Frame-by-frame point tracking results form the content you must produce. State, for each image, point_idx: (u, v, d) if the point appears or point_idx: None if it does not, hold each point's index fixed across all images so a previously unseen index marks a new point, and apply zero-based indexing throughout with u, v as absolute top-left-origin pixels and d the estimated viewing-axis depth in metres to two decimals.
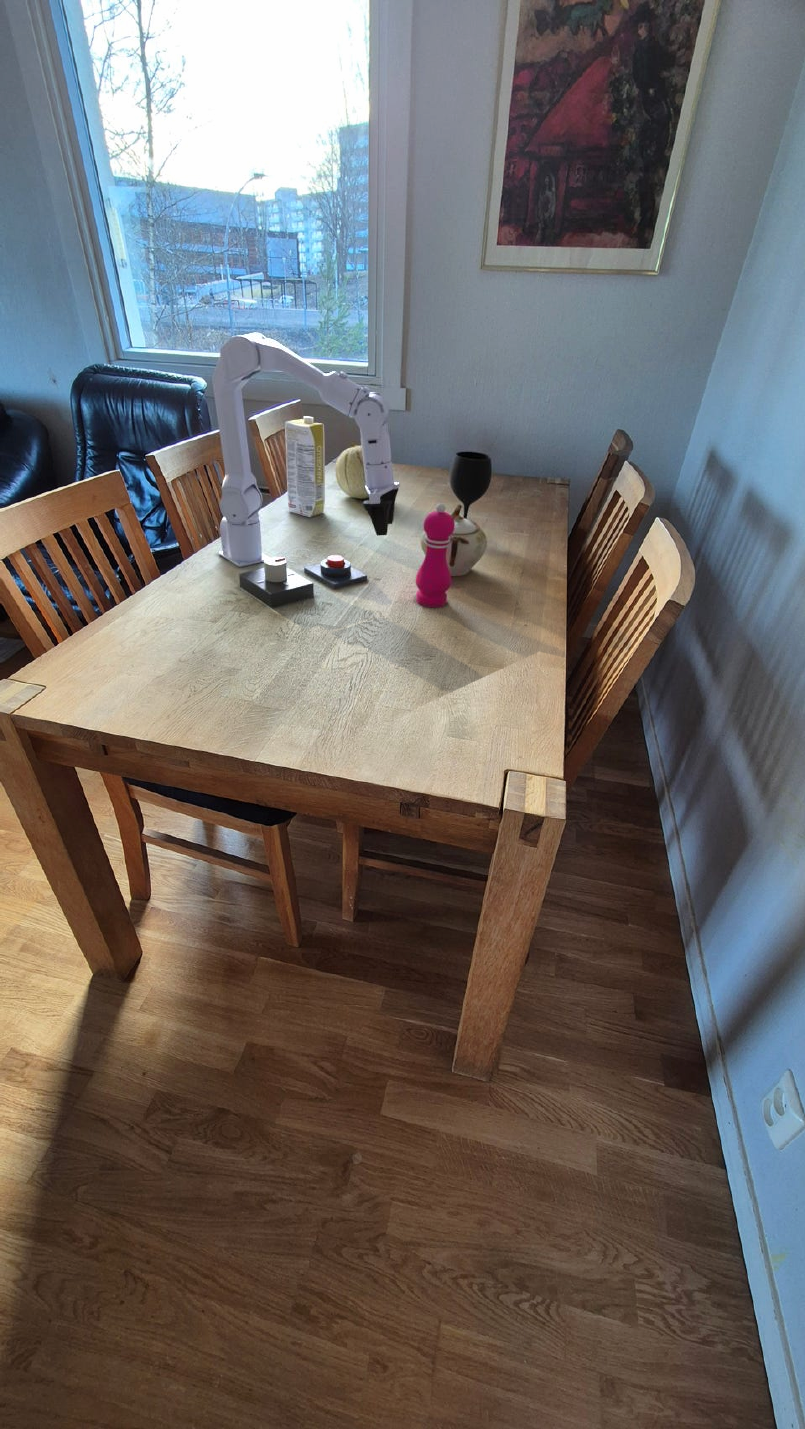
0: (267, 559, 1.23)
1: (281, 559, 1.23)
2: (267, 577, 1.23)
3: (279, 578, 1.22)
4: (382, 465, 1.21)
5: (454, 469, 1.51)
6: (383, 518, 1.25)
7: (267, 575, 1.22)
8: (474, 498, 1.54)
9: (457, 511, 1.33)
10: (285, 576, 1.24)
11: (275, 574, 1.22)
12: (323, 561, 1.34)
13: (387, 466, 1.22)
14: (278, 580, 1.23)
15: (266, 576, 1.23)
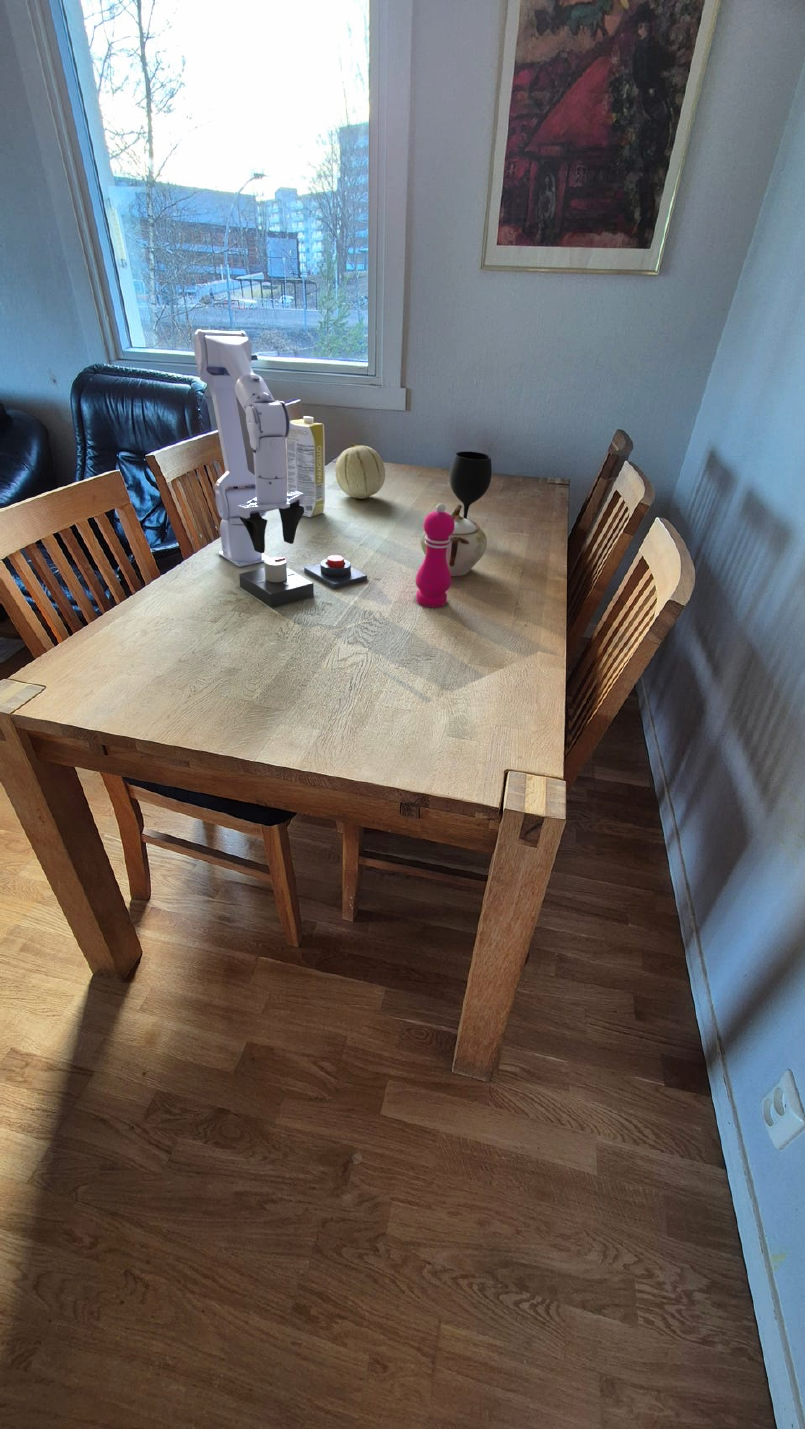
0: (267, 559, 1.23)
1: (281, 559, 1.23)
2: (267, 577, 1.23)
3: (279, 578, 1.22)
4: (265, 480, 1.11)
5: (454, 469, 1.51)
6: None
7: (267, 575, 1.22)
8: (474, 498, 1.54)
9: (457, 511, 1.33)
10: (285, 576, 1.24)
11: (275, 574, 1.22)
12: (323, 561, 1.34)
13: (272, 482, 1.11)
14: (278, 580, 1.23)
15: (266, 576, 1.23)
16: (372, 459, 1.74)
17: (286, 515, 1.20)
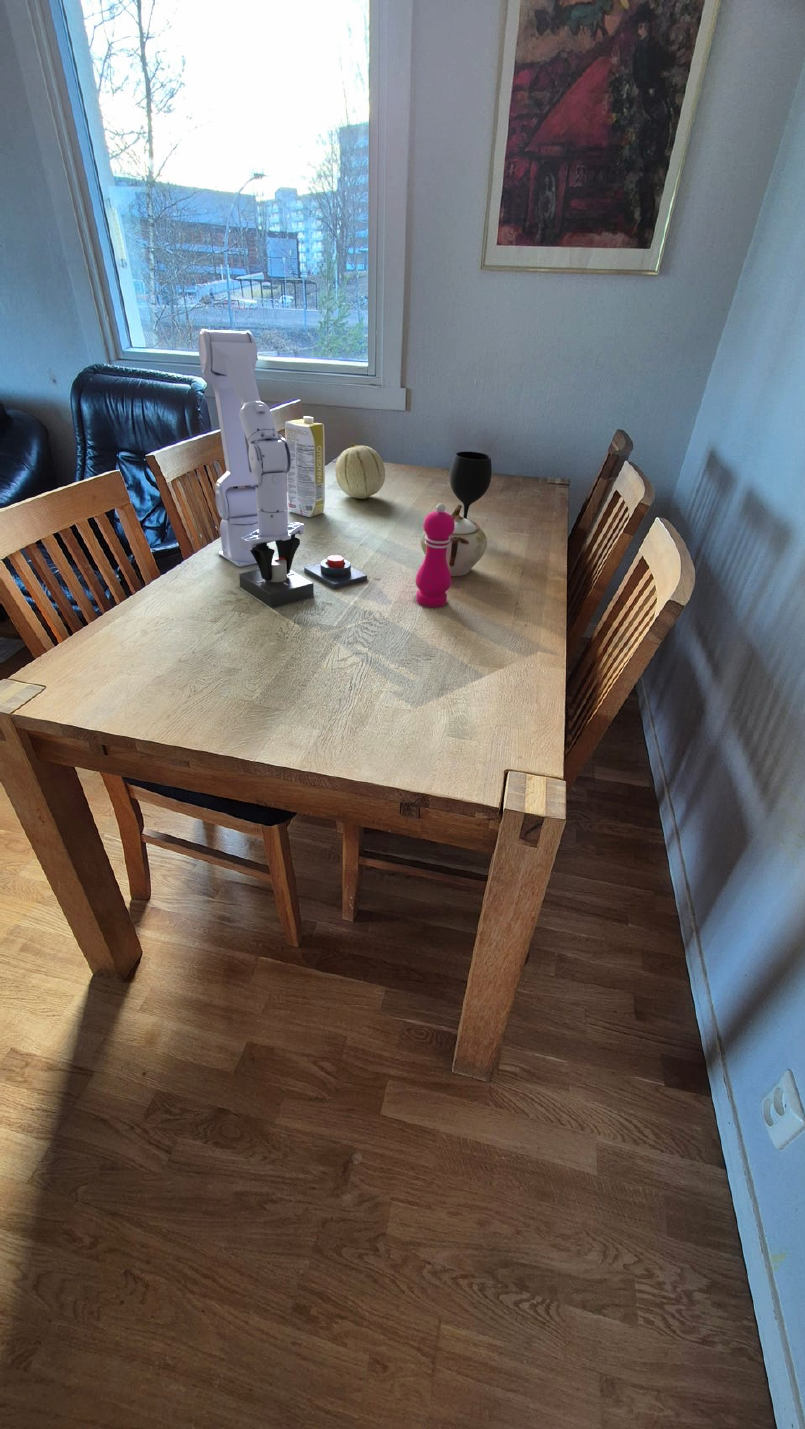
0: None
1: (281, 559, 1.23)
2: None
3: (279, 578, 1.22)
4: (267, 513, 1.14)
5: (454, 469, 1.51)
6: (266, 564, 1.20)
7: None
8: (474, 498, 1.54)
9: (457, 511, 1.33)
10: (285, 576, 1.24)
11: (275, 574, 1.22)
12: (323, 561, 1.34)
13: (273, 516, 1.15)
14: (278, 580, 1.23)
15: None
16: (372, 459, 1.74)
17: (282, 546, 1.23)
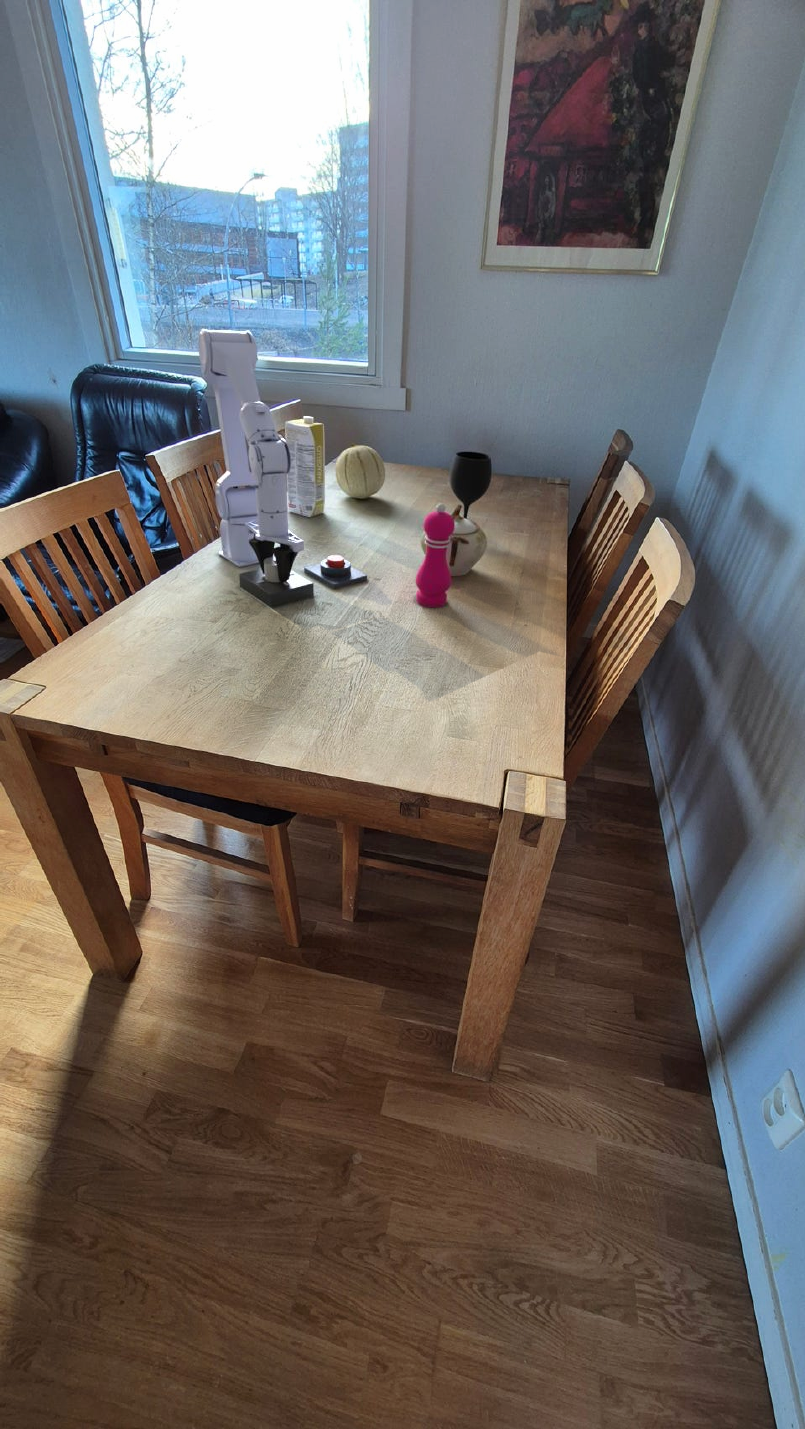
0: None
1: None
2: None
3: (265, 575, 1.23)
4: None
5: (454, 469, 1.51)
6: None
7: None
8: (474, 498, 1.54)
9: (457, 511, 1.33)
10: (270, 578, 1.22)
11: (264, 570, 1.23)
12: (323, 561, 1.34)
13: None
14: (265, 577, 1.23)
15: None
16: (372, 459, 1.74)
17: None
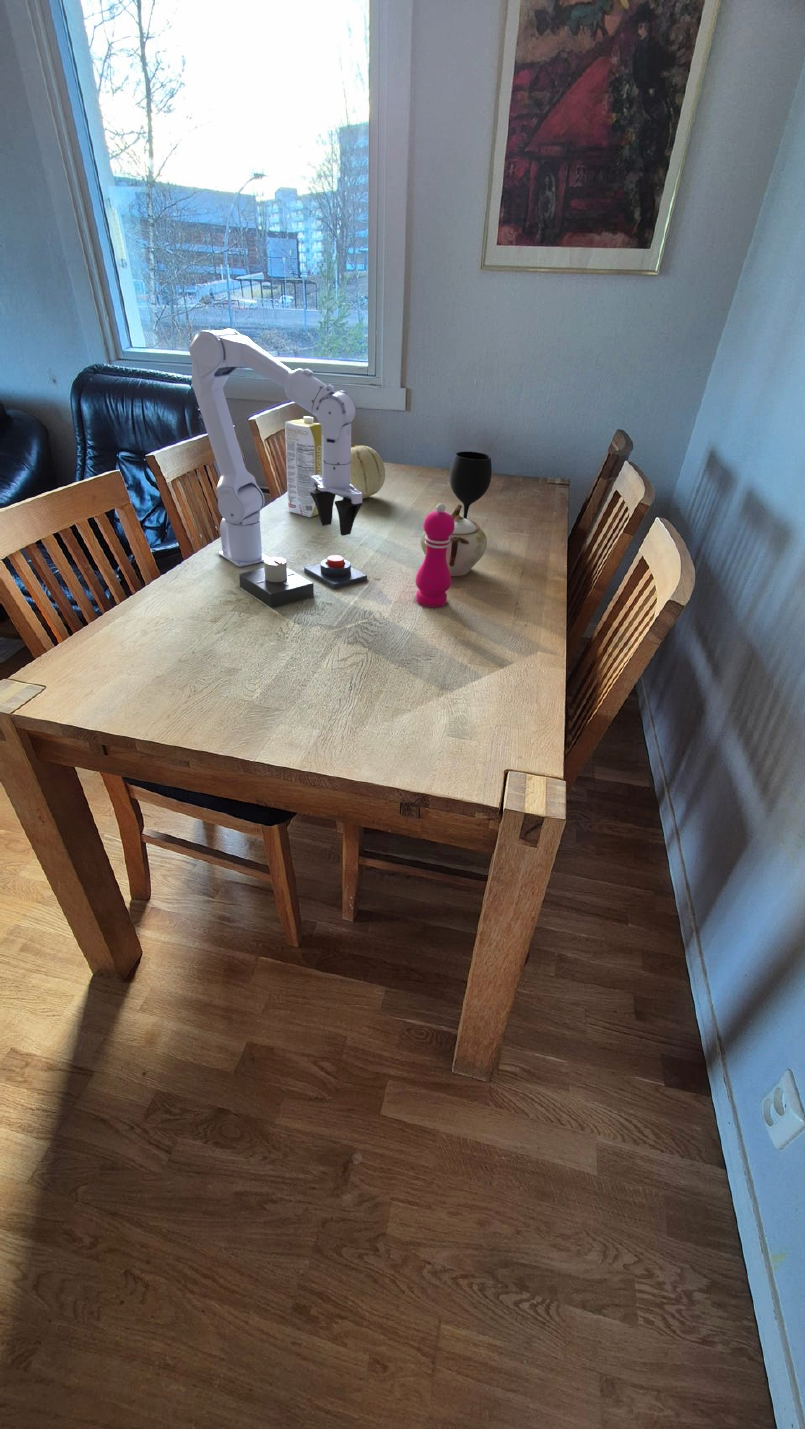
0: (279, 558, 1.24)
1: (277, 562, 1.21)
2: None
3: (265, 575, 1.23)
4: None
5: (454, 469, 1.51)
6: None
7: None
8: (474, 498, 1.54)
9: (457, 511, 1.33)
10: (270, 578, 1.22)
11: (264, 570, 1.23)
12: (323, 561, 1.34)
13: None
14: (265, 577, 1.23)
15: None
16: (372, 459, 1.74)
17: None
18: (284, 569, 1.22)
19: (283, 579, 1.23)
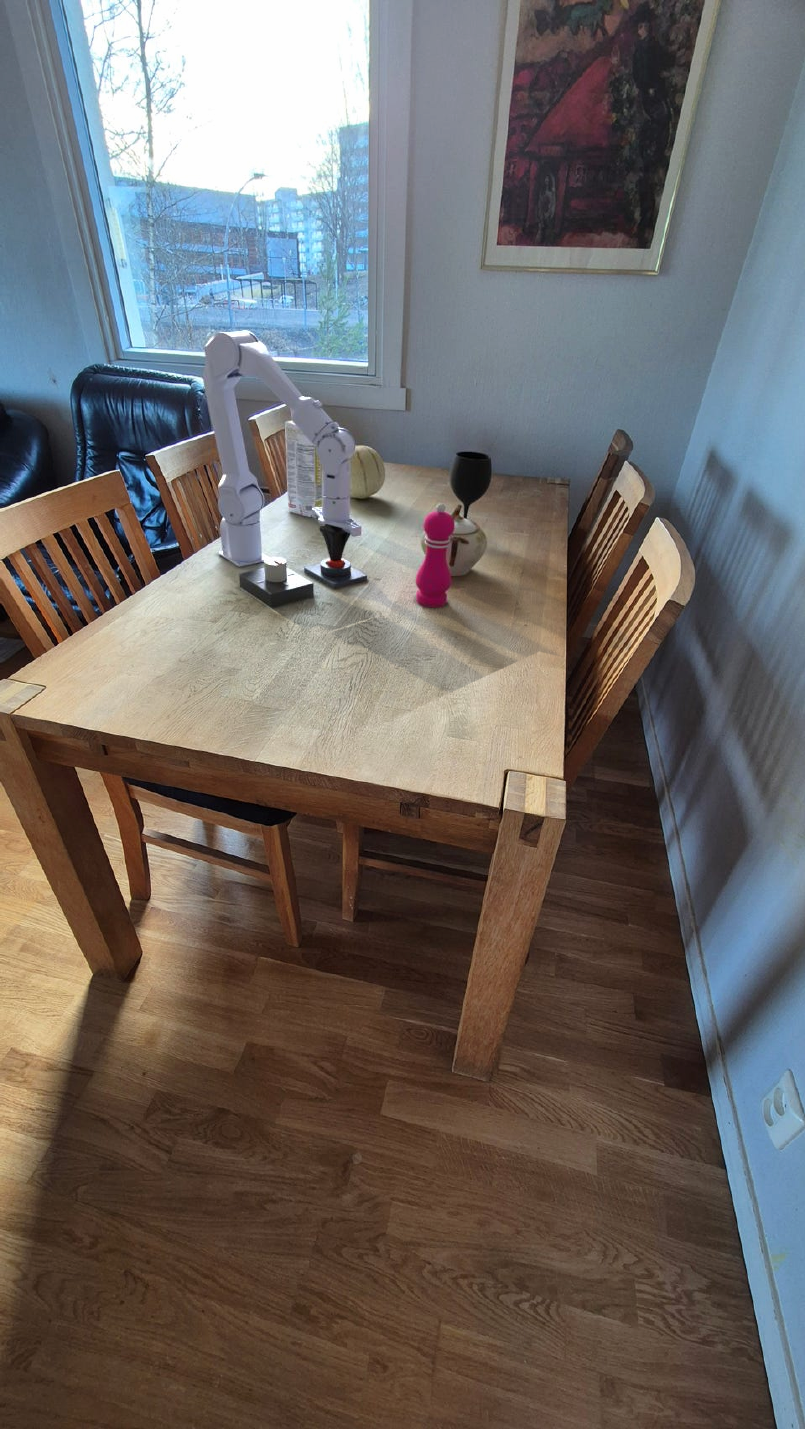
0: (279, 558, 1.24)
1: (277, 562, 1.21)
2: None
3: (265, 575, 1.23)
4: None
5: (454, 469, 1.51)
6: None
7: None
8: (474, 498, 1.54)
9: (457, 511, 1.33)
10: (270, 578, 1.22)
11: (264, 570, 1.23)
12: (323, 561, 1.34)
13: None
14: (265, 577, 1.23)
15: None
16: (372, 459, 1.74)
17: None
18: (284, 569, 1.22)
19: (283, 579, 1.23)
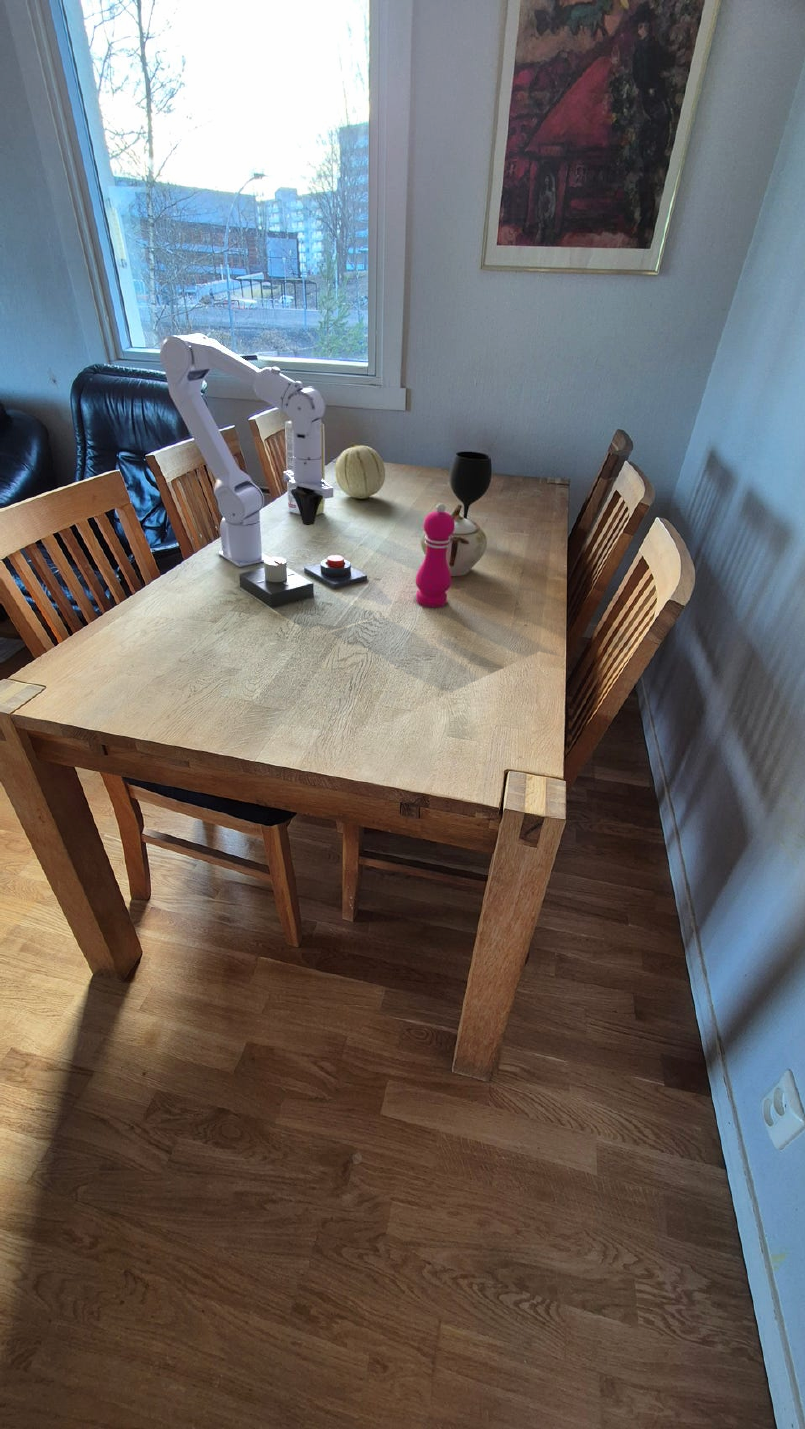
0: (279, 558, 1.24)
1: (277, 562, 1.21)
2: None
3: (265, 575, 1.23)
4: None
5: (454, 469, 1.51)
6: None
7: None
8: (474, 498, 1.54)
9: (457, 511, 1.33)
10: (270, 578, 1.22)
11: (264, 570, 1.23)
12: (323, 561, 1.34)
13: None
14: (265, 577, 1.23)
15: None
16: (372, 459, 1.74)
17: None
18: (284, 569, 1.22)
19: (283, 579, 1.23)
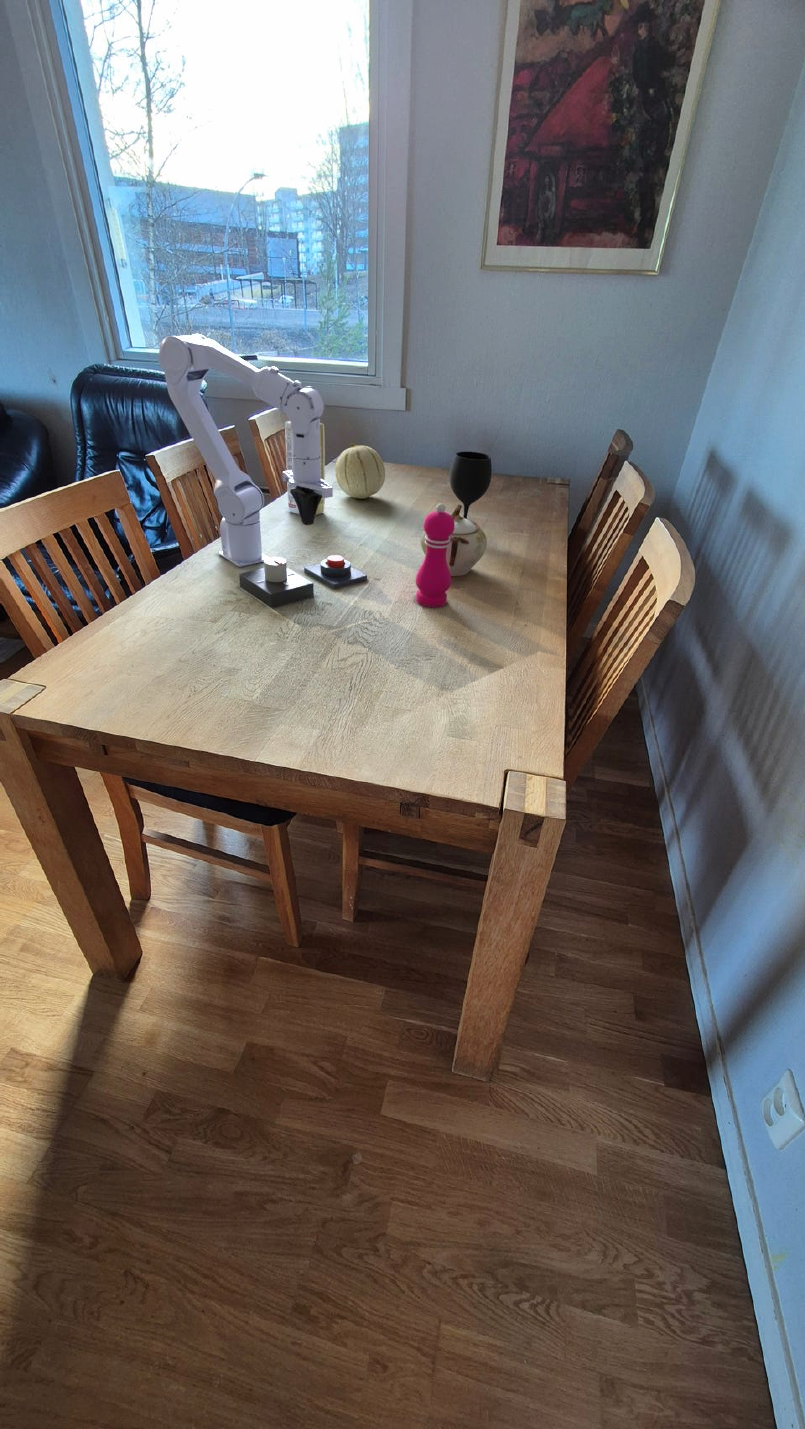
0: (279, 558, 1.24)
1: (277, 562, 1.21)
2: None
3: (265, 575, 1.23)
4: None
5: (454, 469, 1.51)
6: None
7: None
8: (474, 498, 1.54)
9: (457, 511, 1.33)
10: (270, 578, 1.22)
11: (264, 570, 1.23)
12: (323, 561, 1.34)
13: None
14: (265, 577, 1.23)
15: None
16: (372, 459, 1.74)
17: None
18: (284, 569, 1.22)
19: (283, 579, 1.23)
